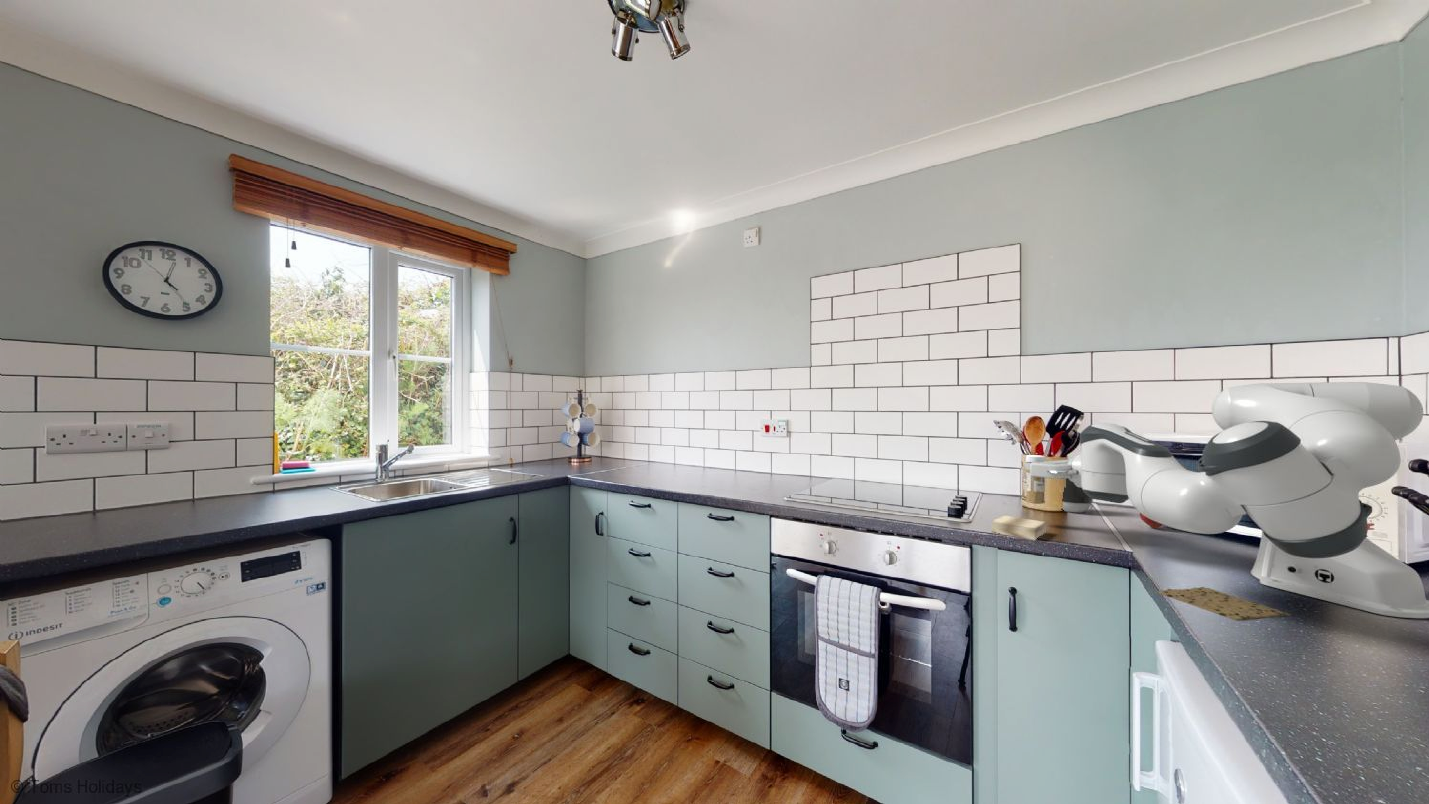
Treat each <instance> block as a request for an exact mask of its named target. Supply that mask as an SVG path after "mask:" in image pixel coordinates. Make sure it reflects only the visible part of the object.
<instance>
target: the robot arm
mask: <svg viewBox="0 0 1429 804" xmlns="http://www.w3.org/2000/svg"><path fill="white" fill-rule="evenodd" d="M1211 406H1212V407H1211V414H1212V417H1213V420H1214V421H1215V423H1216V425H1217V426H1218V427H1219V428H1220V429H1221V430H1222V431H1220V432H1219V433H1217V434H1215V435H1214V436H1212V437H1211V438H1210V439H1209V441H1208V442H1207V443H1206V445H1205V446H1204V449H1203V450H1202V456H1201V457H1200V458H1199V459H1198V460H1197V461H1196V469H1197V470H1198V471H1199V472H1197V471H1192V470H1188V469H1186V468H1185V467H1184V466H1183V465H1182V464H1180V462H1179V461H1178V460H1177V459H1176V458H1175V457H1174V455H1173V454H1172V452H1171V451H1170V449H1168V448H1167V447H1166V446H1163V445H1161V444H1160V443H1157V442H1155V441H1153V440H1150V439H1149V438H1146V437H1144V436H1141V435H1139V434H1137V433H1133V432H1132V431H1131V430H1130V429H1128V428H1127V427H1126V426H1122V425H1120V424H1119V425H1118V424H1115V423H1108V422H1106V423H1105V422H1104V423H1100V422H1099V423H1095V424H1089V425H1088V426H1087V427H1086V428H1084V429H1083V430H1082V431H1081V432H1080V433H1079V441H1080V444H1079V445H1080V453H1079V454H1077V455H1076V456H1075V457H1072V458H1070V459H1056V460H1049V461H1046V460H1045V462H1035V463H1027V462H1025V463H1024V469H1025V470H1027V469H1028V470H1030V475H1031V476H1035V477H1043V478H1045V479H1053V480H1057V479H1065V478H1069V480H1070V481H1072V482H1074V484H1075V485H1076V486H1077V487H1081V488H1082V490H1083V491H1084V492H1085V493H1086V494H1087V495H1088V496H1089V497H1090V498H1092V500H1096V501H1097V500H1098V501H1104V502H1109V503H1114V504H1124V503H1125V502H1126V501H1128V500H1129V501H1130V504H1131V505H1132V506H1133V508H1135V509H1136V510H1137V511H1138V512H1139V514H1140V513H1141V514H1143V515H1144V516H1146V517H1147V518H1149V519H1151V520H1153V521H1155V522H1158V523H1161V524H1163V525H1162V526H1166V527H1169V528H1172V529H1176V530H1180V531H1183V532H1189V533H1194V534H1195V533H1196V534H1204V535H1215V534H1223V533H1224V532H1227V531H1230V530H1231V529H1233V528H1234V527H1236V526H1237V525H1238V524H1239V522H1241V520H1242V517H1243V516H1245V515H1248V516H1249V517H1250V518H1251V520H1252V521H1253V523H1255V524H1256V525H1257V526H1258V527H1259V528H1260V529H1261V536H1260V544H1259V548H1258V552H1257V556H1256V559H1255V561H1254V564H1253V567H1252V569H1251V570H1250V574H1251V575H1252V577H1253V576H1254V577H1255V578H1257V579H1258V580H1259V583H1260V584H1262V585H1265V586H1268V587H1272V588H1276V589H1280V590H1282V591H1283V590H1284V591H1287V592H1291V593H1296V594H1298V595H1303V596H1306V597H1311V598H1315V599H1319V600H1323V601H1325V602H1326V601H1327V602H1330V603H1334V604H1337V605H1341V606H1347V607H1350V608H1354V609H1357V610H1361V611H1365V612H1370V613H1374V614H1378V615H1382V616H1389V617H1396V618H1404V619H1405V618H1407V619H1429V600H1428V599H1426V593H1425V589H1424V585H1423V584H1424V583H1423V582H1422V579H1421V577H1420V574H1419V573H1418V572H1417V571H1416V570H1415V569H1414V568H1412V567H1411V566H1409V565H1407V564H1406V563H1405V562H1403V561H1402V560H1401V559H1398V558H1397V557H1395V556H1394V555H1392V554H1391V553H1389V552H1388V551H1386V550H1384V549H1383V548H1382V547H1380V546H1379V545H1377V544H1376V543H1374V541H1373V542H1372V541H1371V540H1369V538H1368V537H1369V536H1368V533H1369V532H1368V531H1371V530H1375V527H1374V526H1375V523H1369V522H1368V519H1367V518H1369V517H1370V515H1372V513H1373V506H1372V505H1370V504H1367V503H1365V502H1362V500H1361V499H1360V498H1359V493H1360V492H1361V491H1362V490H1364V489H1366V488H1371V487H1374V486H1378V485H1380V484H1382V483H1385V482H1386V481H1388V480H1390V479H1391V478H1393V477H1394V476H1395V474H1397V472H1398V470H1399V469H1400V467H1401V453H1400V452H1401V451H1400V449H1399V446H1398V444H1397V441H1398V440H1400V439H1403V438H1405V437H1407V436H1409V435H1410V434H1411V433H1413V432H1414V431H1415V430H1416V429H1417V428H1418V427H1419V426H1420V424H1421V423H1422V420H1423V417H1424V407H1423V404H1422V401H1421V400H1420V399H1419V397H1417V395H1416V394H1415V393H1413V392H1412V391H1411V390H1409V388H1406V387H1404V386H1401V385H1393V384H1384V383H1379V382H1378V383H1377V382H1367V381H1366V382H1365V381H1344V382H1343V381H1340V382H1339V381H1338V382H1337V381H1333V382H1332V381H1331V382H1330V381H1329V382H1325V381H1324V382H1278V383H1277V382H1275V383H1274V382H1271V383H1270V382H1269V383H1268V382H1267V383H1266V382H1265V383H1262V382H1261V383H1251V384H1244V385H1243V384H1242V385H1237V386H1231V387H1226V388H1225V389H1224V390H1221V392H1220V393H1219V394H1218V395H1217V396H1216V397H1215V399H1214V401H1213V403H1212V405H1211ZM1373 527H1374V528H1373Z"/></svg>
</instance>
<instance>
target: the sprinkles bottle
mask: <svg viewBox="0 0 1429 804" xmlns="http://www.w3.org/2000/svg"><path fill="white" fill-rule="evenodd" d="M1035 462H1046V456H1045V455H1040V454H1039V455H1038V454H1028V455H1027V454H1026V457H1025V463H1035ZM1025 475H1026V478H1025V479H1026V485H1025V486H1026V489H1025V490H1026V499H1025V500H1026V502H1027V503H1030V504H1034V505H1035V504H1036V505H1040V504H1041V505H1042V504H1046V503H1045V502H1046V501H1045V492H1046V489H1045V488H1046V485H1045V484H1046V480H1045V479H1046V478H1043V477H1035V476H1031V475H1030V470H1028V469H1026V473H1025Z"/></svg>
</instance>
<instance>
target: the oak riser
mask: <svg viewBox="0 0 1429 804" xmlns="http://www.w3.org/2000/svg"><path fill="white" fill-rule="evenodd" d="M1046 526H1047V525H1046V521H1042V520H1041V521H1040V520H1035V519H1029V518H1023V517H1017V516H1016V517H1015V516H1009V515H1005V514H1004V515H1002V516H1000V517H997V518H995V519H993V520H991V533H992V532H996V533H995V534H998V533H1000V534H999V535H1004V536H1008V537H1009V536H1010V537H1014V538H1015V537H1016V538H1020V539H1026V540H1030V541H1036V540H1038V539H1039V538H1040V537H1039V536H1041V535H1042V536H1044V535H1045V534H1046V531H1047V530H1046V529H1047V528H1046ZM1044 533H1045V534H1044ZM1043 534H1044V535H1043ZM1042 536H1041V537H1042ZM1038 537H1039V538H1038ZM1037 538H1038V539H1037Z"/></svg>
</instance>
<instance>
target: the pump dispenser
mask: <svg viewBox="0 0 1429 804" xmlns="http://www.w3.org/2000/svg"><path fill="white" fill-rule="evenodd" d="M1062 501H1063V510H1064V511H1063V510H1062V511H1063V512H1067V513H1072V512H1073V513H1074V514H1082V513H1084V512H1086V511H1088V510H1089V509H1090V508H1091V505H1092V503H1093V499H1092V498H1090V497H1089V496H1088V495H1087V494H1086V493H1085V492H1084V491H1083V490H1082V488H1081V487H1077V486H1076V485H1075V484H1074V482H1072V481H1070V480H1069V478H1066V488H1065V487H1064V492H1063V499H1062Z"/></svg>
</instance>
